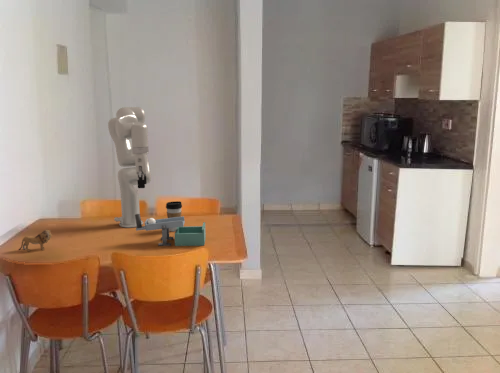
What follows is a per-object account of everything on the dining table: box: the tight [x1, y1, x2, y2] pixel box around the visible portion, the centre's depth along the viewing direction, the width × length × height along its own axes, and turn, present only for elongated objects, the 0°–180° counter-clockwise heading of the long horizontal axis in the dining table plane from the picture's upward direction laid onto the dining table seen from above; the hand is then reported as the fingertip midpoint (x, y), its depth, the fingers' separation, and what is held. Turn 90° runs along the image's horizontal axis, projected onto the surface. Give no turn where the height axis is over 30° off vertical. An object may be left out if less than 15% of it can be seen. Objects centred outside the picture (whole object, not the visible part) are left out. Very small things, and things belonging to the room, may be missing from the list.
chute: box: [135, 213, 185, 232], centre depth 230 cm, size 23×7×8 cm, turn 92°
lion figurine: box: [18, 229, 52, 252], centre depth 221 cm, size 15×5×9 cm, turn 110°
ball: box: [147, 217, 156, 224], centre depth 230 cm, size 4×4×4 cm
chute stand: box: [157, 226, 175, 247], centre depth 231 cm, size 6×12×10 cm, turn 2°
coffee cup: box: [165, 200, 183, 232], centre depth 250 cm, size 8×8×15 cm
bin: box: [173, 222, 207, 247], centre depth 232 cm, size 14×12×8 cm
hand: (142, 186), depth 227 cm, fingers open, 9 cm apart
